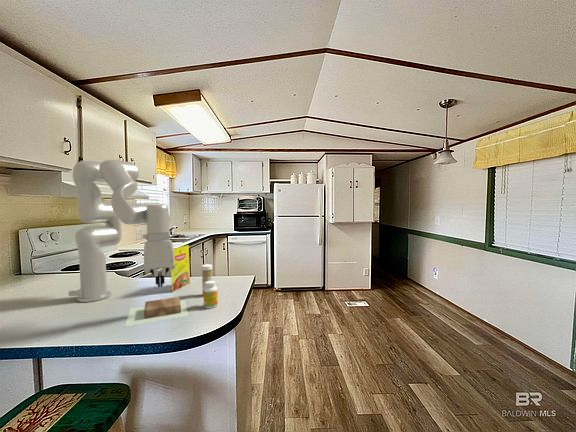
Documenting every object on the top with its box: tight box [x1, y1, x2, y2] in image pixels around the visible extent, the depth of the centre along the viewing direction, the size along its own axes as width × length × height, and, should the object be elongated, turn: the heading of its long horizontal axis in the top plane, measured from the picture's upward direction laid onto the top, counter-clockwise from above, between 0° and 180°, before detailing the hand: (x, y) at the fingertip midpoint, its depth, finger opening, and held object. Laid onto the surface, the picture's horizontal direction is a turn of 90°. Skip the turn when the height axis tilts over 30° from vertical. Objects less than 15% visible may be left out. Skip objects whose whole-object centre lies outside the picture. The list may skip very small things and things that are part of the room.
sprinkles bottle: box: [201, 263, 213, 297], centre depth 123 cm, size 5×5×14 cm
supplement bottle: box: [203, 280, 219, 309], centre depth 109 cm, size 5×5×10 cm
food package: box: [170, 244, 191, 293], centre depth 135 cm, size 15×1×20 cm, turn 168°
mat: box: [124, 299, 189, 327], centre depth 103 cm, size 20×18×1 cm
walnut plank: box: [144, 296, 181, 319], centre depth 104 cm, size 3×10×12 cm
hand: (160, 285), depth 103 cm, fingers closed
